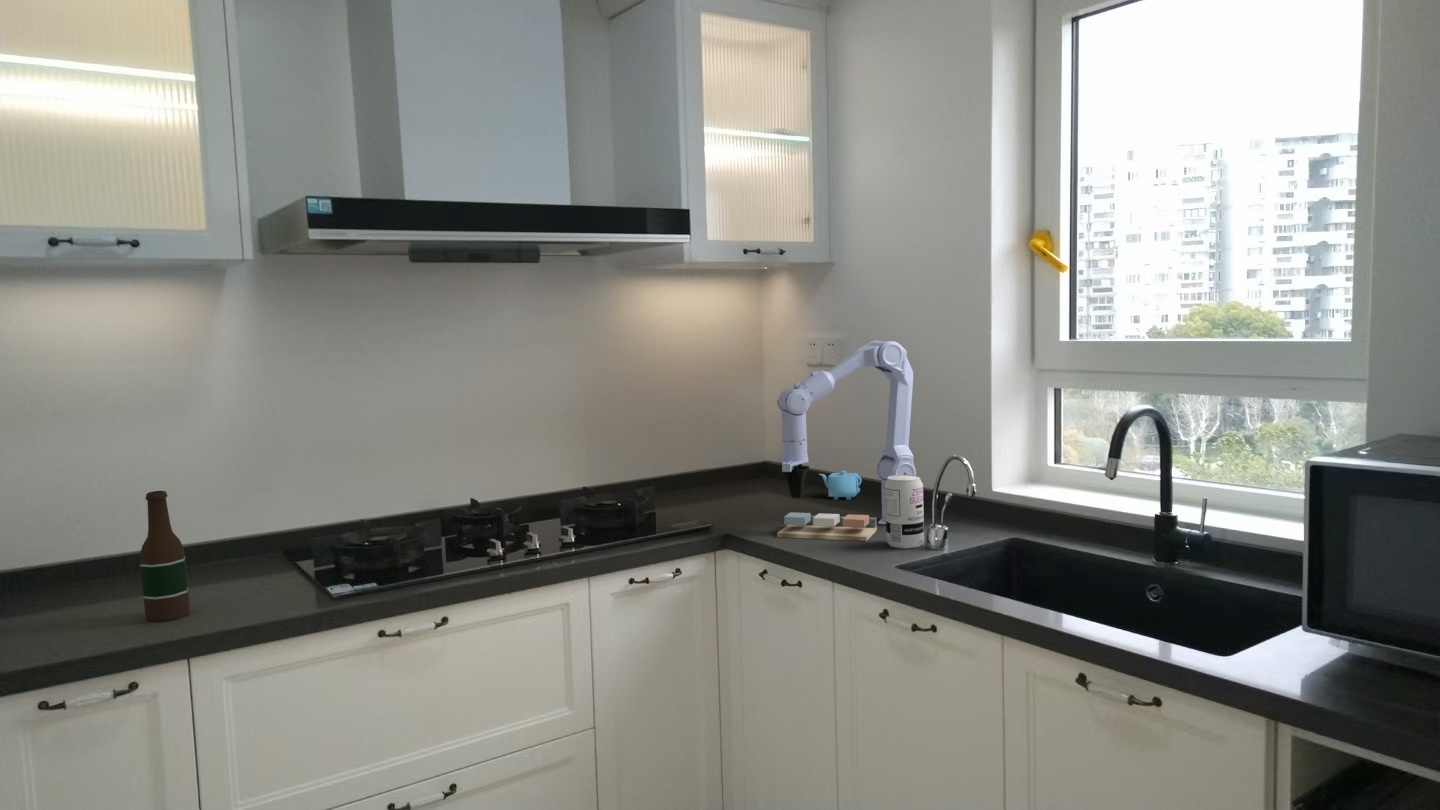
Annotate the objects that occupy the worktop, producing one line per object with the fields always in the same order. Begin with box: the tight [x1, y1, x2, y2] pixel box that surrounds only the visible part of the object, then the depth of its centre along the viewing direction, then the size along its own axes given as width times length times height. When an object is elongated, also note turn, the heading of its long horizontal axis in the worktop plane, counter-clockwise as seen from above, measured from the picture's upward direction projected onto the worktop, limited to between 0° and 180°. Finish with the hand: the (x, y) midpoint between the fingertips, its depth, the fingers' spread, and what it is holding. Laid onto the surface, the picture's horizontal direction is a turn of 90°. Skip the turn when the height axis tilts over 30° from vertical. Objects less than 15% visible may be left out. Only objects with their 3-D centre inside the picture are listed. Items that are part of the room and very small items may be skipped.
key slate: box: [783, 512, 812, 526], centre depth 235 cm, size 5×5×2 cm
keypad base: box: [776, 514, 878, 542], centre depth 233 cm, size 21×11×3 cm, turn 69°
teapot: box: [818, 470, 863, 501], centre depth 275 cm, size 12×6×8 cm, turn 72°
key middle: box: [813, 512, 840, 526], centre depth 232 cm, size 5×5×2 cm
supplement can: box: [885, 475, 925, 550], centre depth 219 cm, size 8×8×15 cm
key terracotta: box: [843, 513, 870, 528], centre depth 230 cm, size 5×5×2 cm
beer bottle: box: [139, 490, 190, 623], centre depth 189 cm, size 8×8×24 cm
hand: (796, 497), depth 234 cm, fingers closed
